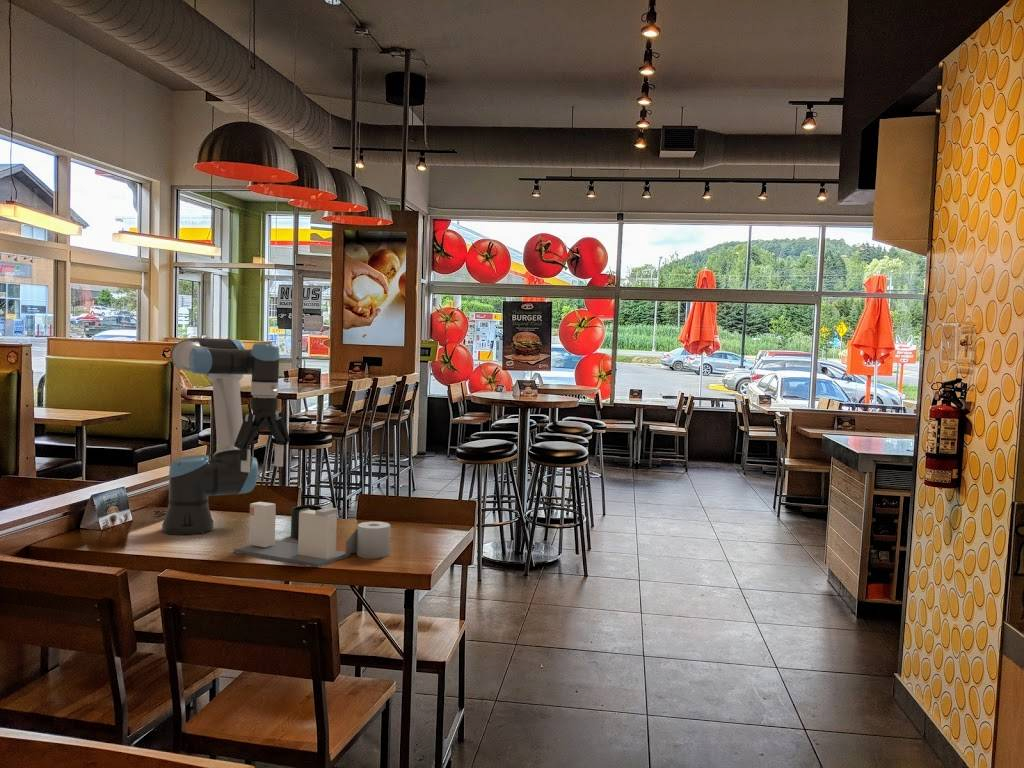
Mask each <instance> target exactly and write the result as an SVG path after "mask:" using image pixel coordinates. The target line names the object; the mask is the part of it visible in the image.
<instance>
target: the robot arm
mask: <svg viewBox="0 0 1024 768" xmlns="http://www.w3.org/2000/svg"><path fill="white" fill-rule="evenodd" d="M280 358H281V355H280V347H279V345H277V344H275V343H274V344H272V343H254V344H253V345H252V348H251V349H247V348H246V346H245V344H244V343H243V342H242V341H241V340H239V339H231V338H211V337H210V338H209V337H208V338H205V337H189V338H186V339H185V338H184V339H183V340H180V341H178V342H177V343H175V345H173V347H172V349H171V350H170V359H171V362H172V364H173V365H174V366H175V367H176V368H177V369H181V370H183V371H186V372H191V373H193V374H198V375H199V374H200V375H206V379H207V380H208V381H210V382H211V383H212V392H213V393H212V394H213V407H214V419H215V431H216V432H215V433H216V434H215V435H216V446H217V451H215V452H214V454H213V456H212V457H213V459H211V458H210V456H209V455H207V454H196V455H188V456H183V457H179V458H176V459H174V460H173V461H171V462H170V464H169V472H168V506H167V507H168V508H167V510H166V513H165V516H164V520H163V522H162V523H161V531H162V533H164V534H168V535H175V536H176V535H177V536H183V534H190V535H197V534H196V533H199V534H203V533H202V532H205V533H207V531H208V532H210V530H211V531H213V530H214V526H215V525H214V520H213V517H212V513H211V510H210V506H209V496H226V495H240V494H249V493H251V492H252V491H253V490H254V488H255V486H256V485H257V484H256V483H257V480H258V474H259V473H258V472H259V464H258V459H257V458H256V457H252V456H251V455H252V453H251V449H249V448H250V446H251V445H252V443H253V441H254V440H255V437H256V436H257V435H258V433H259V431H261V430H264V429H268V430H269V432H270V434H271V435H272V437H273V438H274V440H275V442H276V443H275V444H274V462H273V463H274V467H279V468H280V467H281V468H282V467H284V455H285V446H287V445H288V444H289V442H290V441H291V437H290V434H289V432H288V428H287V425H286V422H285V419H284V413H283V412H281V411H277V410H278V408H279V407H278V406H279V399H278V397H277V396H278V395H279V376H280V371H279V370H280V368H279V367H280ZM244 375H251V383H250V385H251V388H250V395H251V396H252V397H251V398H250V409H251V410H252V413H251V414H250V413H244V414H243V409H242V399H241V398H242V397H241V388H240V380H242V378H243V377H244ZM212 529H213V530H212Z"/></svg>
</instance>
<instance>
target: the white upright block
mask: <svg viewBox="0 0 1024 768" xmlns="http://www.w3.org/2000/svg"><path fill="white" fill-rule="evenodd" d="M276 506H277V505H276V503H273V502H264V501H257V502H253V503H252V502H251V503H249V527H248V529H249V531H248V532H249V534H248V537H249V538H248V545H254V546H259V547H268V546H272V545H275V540H276V512H277V511H276V510H277V509H276V508H277V507H276Z"/></svg>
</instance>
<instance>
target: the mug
mask: <svg viewBox="0 0 1024 768" xmlns="http://www.w3.org/2000/svg"><path fill="white" fill-rule="evenodd" d="M307 508H309V510H315V511H317V510H321V509H324V508H323V507H322V506H319V505H297V506H294V507H291V514H290V515H291V516H290V517H291V518H290V525H291V526H290V538H291V539H293V540H296V541H298V536H299V510H303V509H307Z"/></svg>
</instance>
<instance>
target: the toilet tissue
mask: <svg viewBox="0 0 1024 768" xmlns="http://www.w3.org/2000/svg"><path fill="white" fill-rule="evenodd" d="M356 525H357V526H356V527H357V528H355V530H354V531H353V533H352V534H351V535H350V536H349V537H348V539H346V541H345V552H348V553H350V554H355V553H356V555H357V557H358V556H359V558H363V557H365V558H364V559H381V558H380V557H383V558H386V557H388V556H389V554H390V553H391V550H390V549H391V524H390V523H389V522H384V521H363V522H360V523H358V524H356ZM387 555H388V556H387ZM385 556H386V557H385Z"/></svg>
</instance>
